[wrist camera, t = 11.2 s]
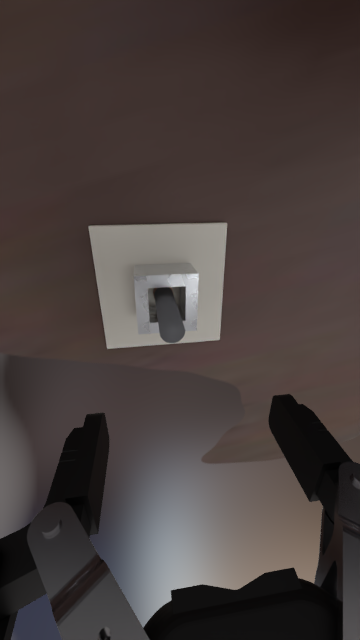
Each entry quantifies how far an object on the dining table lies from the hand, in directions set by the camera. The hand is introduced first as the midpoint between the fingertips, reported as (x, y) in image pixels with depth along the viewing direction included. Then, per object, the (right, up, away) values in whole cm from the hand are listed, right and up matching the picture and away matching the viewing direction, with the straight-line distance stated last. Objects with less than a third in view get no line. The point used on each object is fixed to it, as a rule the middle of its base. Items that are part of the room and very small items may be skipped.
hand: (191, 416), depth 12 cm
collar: (-2, +8, +17) cm, 19 cm away
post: (-3, +8, +18) cm, 20 cm away
